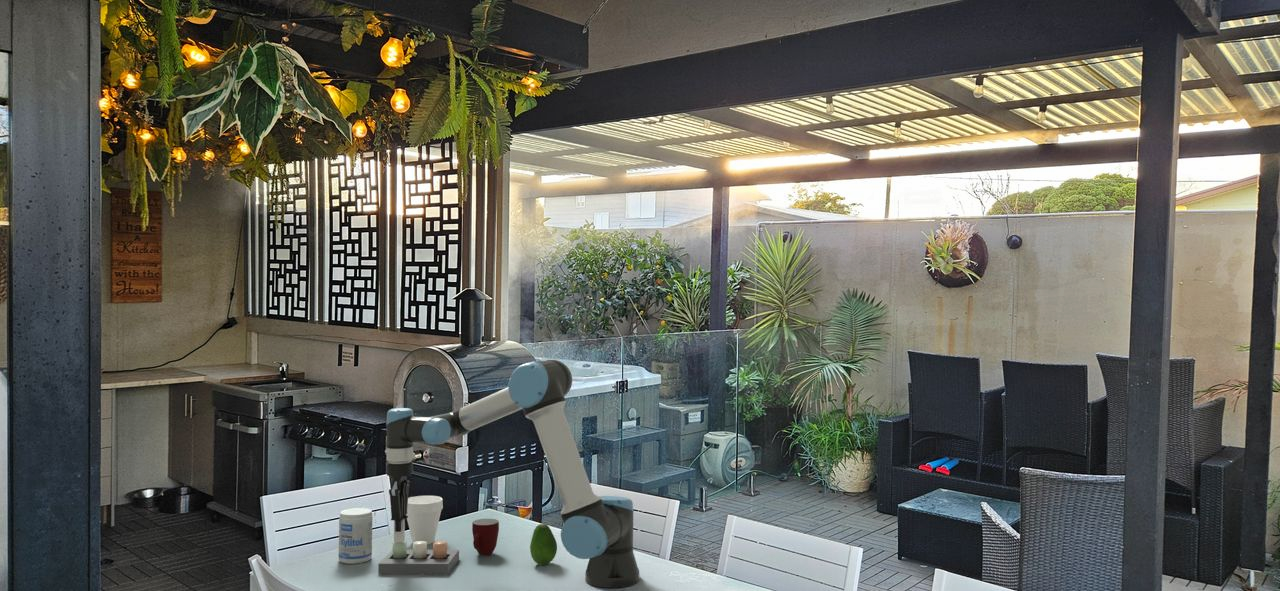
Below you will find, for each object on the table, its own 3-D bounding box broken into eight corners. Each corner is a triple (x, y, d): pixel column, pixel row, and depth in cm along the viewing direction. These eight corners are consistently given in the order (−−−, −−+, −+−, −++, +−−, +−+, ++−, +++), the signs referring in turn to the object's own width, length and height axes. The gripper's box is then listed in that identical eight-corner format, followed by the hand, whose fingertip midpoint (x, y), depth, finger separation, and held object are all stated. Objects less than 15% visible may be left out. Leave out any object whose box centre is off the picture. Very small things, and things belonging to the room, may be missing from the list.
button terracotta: (448, 554, 257) (448, 541, 257) (445, 558, 253) (445, 544, 253) (435, 554, 257) (434, 541, 257) (431, 558, 253) (431, 544, 253)
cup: (396, 545, 277) (396, 502, 278) (416, 535, 289) (416, 494, 289) (430, 548, 274) (430, 505, 274) (449, 538, 286) (449, 496, 286)
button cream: (428, 554, 257) (428, 541, 257) (424, 558, 253) (424, 544, 253) (415, 554, 257) (414, 540, 257) (411, 558, 253) (411, 544, 253)
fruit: (562, 563, 258) (562, 523, 258) (545, 570, 252) (545, 528, 252) (542, 558, 263) (542, 519, 263) (524, 565, 256) (524, 524, 256)
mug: (490, 561, 260) (490, 527, 260) (464, 559, 262) (464, 526, 262) (502, 551, 271) (502, 519, 271) (478, 549, 272) (478, 517, 272)
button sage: (408, 554, 257) (408, 540, 257) (404, 558, 253) (404, 544, 253) (394, 554, 257) (395, 540, 257) (390, 558, 253) (390, 544, 253)
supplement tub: (337, 566, 256) (338, 516, 256) (339, 557, 265) (339, 508, 265) (372, 563, 259) (372, 513, 259) (372, 554, 268) (372, 506, 268)
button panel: (459, 559, 262) (459, 549, 262) (447, 574, 248) (447, 563, 248) (393, 559, 262) (393, 549, 262) (378, 574, 248) (378, 563, 248)
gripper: (393, 457, 262) (393, 535, 262) (379, 465, 249) (379, 547, 249) (418, 457, 262) (418, 535, 262) (405, 465, 249) (405, 548, 249)
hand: (399, 541), depth 255 cm, fingers closed
